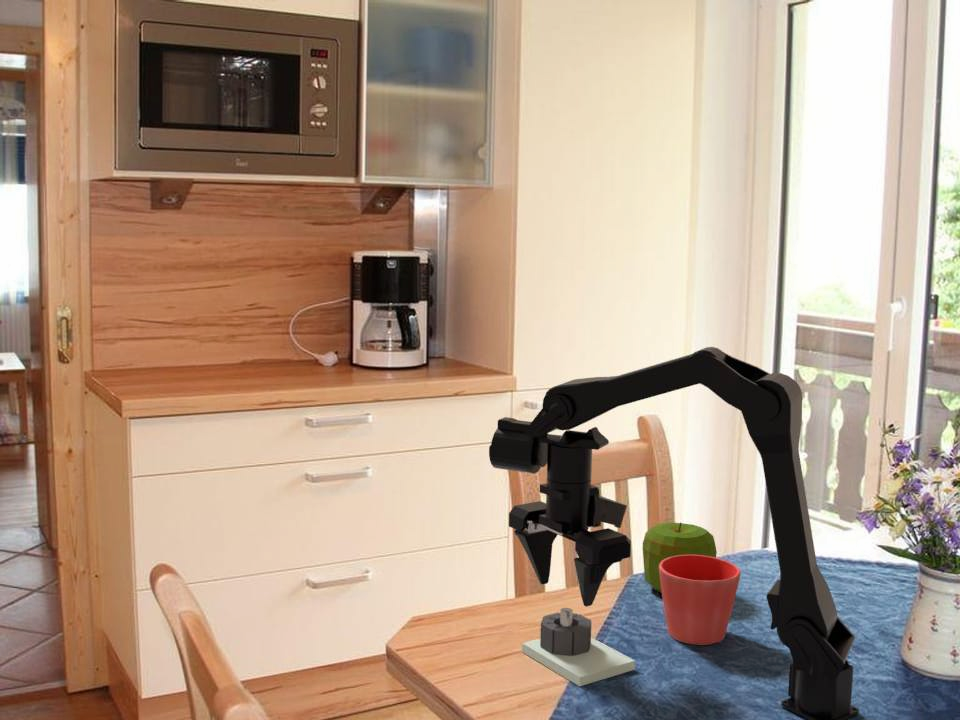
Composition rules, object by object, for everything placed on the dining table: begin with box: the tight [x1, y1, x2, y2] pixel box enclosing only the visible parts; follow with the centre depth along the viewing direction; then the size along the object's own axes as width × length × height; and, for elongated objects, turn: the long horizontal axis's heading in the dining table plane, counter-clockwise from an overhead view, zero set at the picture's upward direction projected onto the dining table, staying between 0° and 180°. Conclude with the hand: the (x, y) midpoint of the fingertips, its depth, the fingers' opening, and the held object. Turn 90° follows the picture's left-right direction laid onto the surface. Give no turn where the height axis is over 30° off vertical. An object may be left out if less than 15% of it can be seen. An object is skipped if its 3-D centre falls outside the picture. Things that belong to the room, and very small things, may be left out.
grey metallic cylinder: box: [559, 607, 574, 627], centre depth 139 cm, size 2×2×6 cm
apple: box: [642, 522, 718, 594], centre depth 163 cm, size 11×11×11 cm
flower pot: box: [659, 555, 741, 646], centre depth 146 cm, size 11×11×10 cm
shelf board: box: [521, 636, 636, 687], centre depth 138 cm, size 12×9×1 cm
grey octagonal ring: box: [539, 612, 592, 656], centre depth 139 cm, size 6×6×3 cm
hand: (565, 594), depth 139 cm, fingers open, 9 cm apart
